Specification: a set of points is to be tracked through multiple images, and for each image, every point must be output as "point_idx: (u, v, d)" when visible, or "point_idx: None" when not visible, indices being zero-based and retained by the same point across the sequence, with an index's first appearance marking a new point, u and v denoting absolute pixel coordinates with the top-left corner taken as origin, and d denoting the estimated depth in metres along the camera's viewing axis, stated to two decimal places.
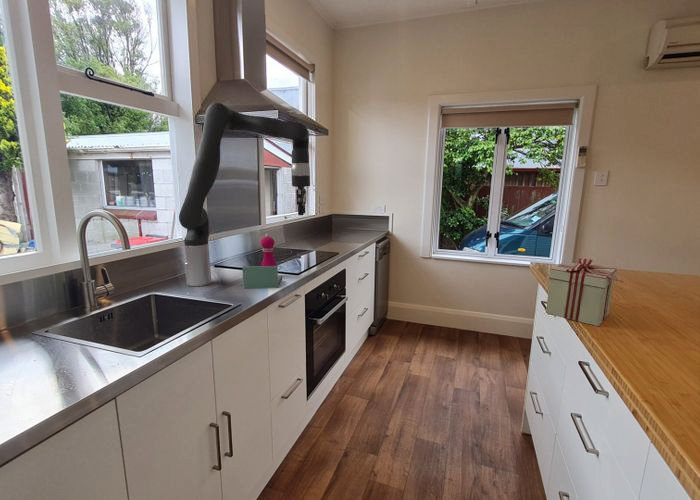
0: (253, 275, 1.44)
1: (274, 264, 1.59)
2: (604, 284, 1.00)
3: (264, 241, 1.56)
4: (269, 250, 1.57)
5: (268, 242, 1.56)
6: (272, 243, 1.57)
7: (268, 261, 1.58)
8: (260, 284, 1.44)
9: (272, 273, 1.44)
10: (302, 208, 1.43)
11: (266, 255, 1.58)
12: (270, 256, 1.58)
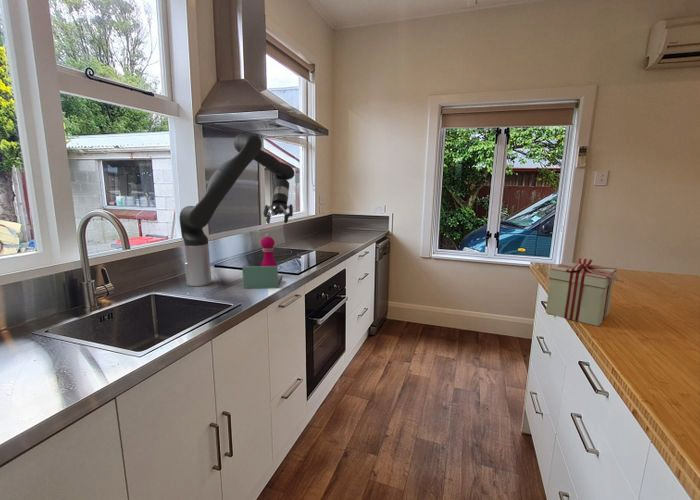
0: (253, 275, 1.44)
1: (274, 264, 1.59)
2: (604, 284, 1.00)
3: (264, 241, 1.56)
4: (269, 250, 1.57)
5: (268, 242, 1.56)
6: (272, 243, 1.57)
7: (268, 261, 1.58)
8: (260, 284, 1.44)
9: (272, 273, 1.44)
10: None
11: (266, 255, 1.58)
12: (270, 256, 1.58)
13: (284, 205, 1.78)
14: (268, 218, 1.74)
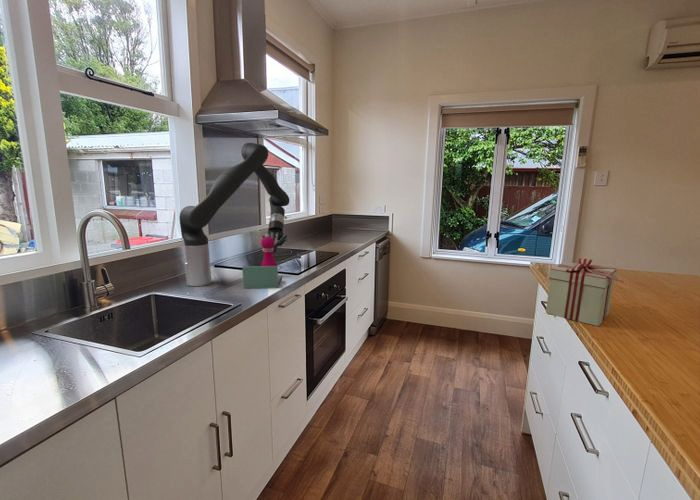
0: (253, 275, 1.44)
1: (274, 264, 1.59)
2: (604, 284, 1.00)
3: (264, 241, 1.56)
4: (269, 250, 1.57)
5: (268, 242, 1.56)
6: (272, 243, 1.57)
7: (268, 261, 1.58)
8: (260, 284, 1.44)
9: (272, 273, 1.44)
10: None
11: (266, 255, 1.58)
12: (270, 256, 1.58)
13: (281, 232, 1.77)
14: None
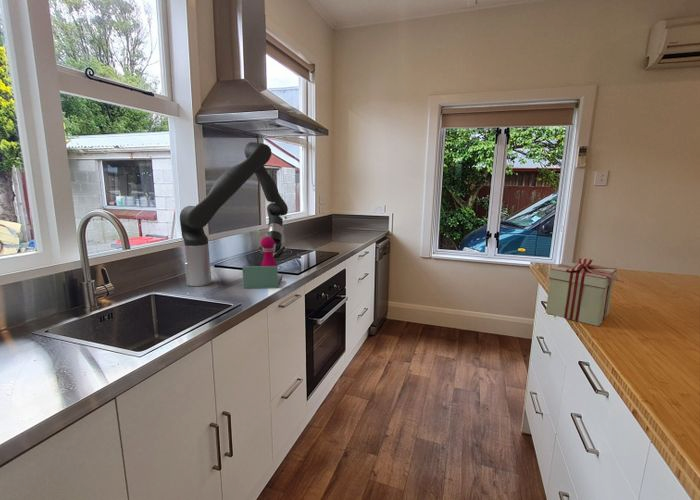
0: (253, 275, 1.44)
1: (274, 264, 1.59)
2: (604, 284, 1.00)
3: (264, 241, 1.56)
4: (269, 250, 1.57)
5: (268, 242, 1.56)
6: (272, 243, 1.57)
7: (268, 261, 1.58)
8: (260, 284, 1.44)
9: (272, 273, 1.44)
10: None
11: (266, 255, 1.58)
12: (270, 256, 1.58)
13: (279, 244, 1.70)
14: None
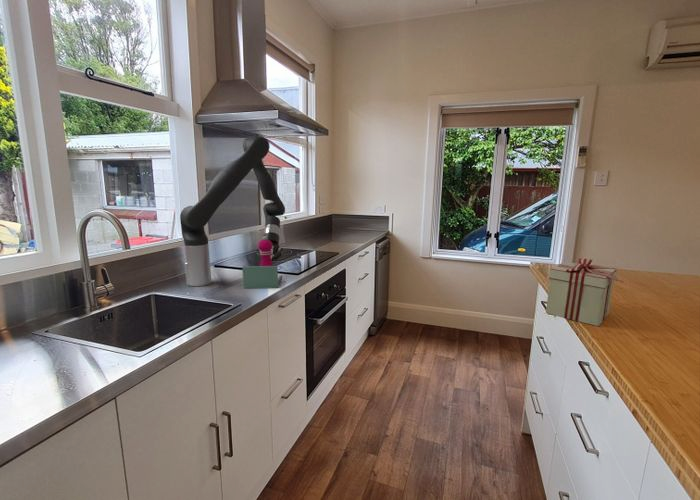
0: (253, 275, 1.44)
1: None
2: (604, 284, 1.00)
3: (262, 244, 1.49)
4: (267, 253, 1.50)
5: (266, 245, 1.49)
6: (270, 246, 1.51)
7: (265, 264, 1.51)
8: (260, 284, 1.44)
9: (272, 273, 1.44)
10: None
11: (264, 258, 1.51)
12: (268, 259, 1.52)
13: (276, 245, 1.63)
14: None
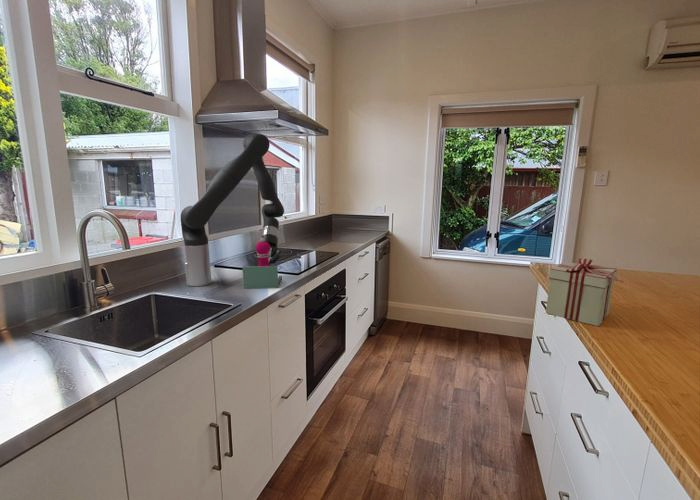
0: (253, 275, 1.44)
1: None
2: (604, 284, 1.00)
3: (259, 246, 1.44)
4: (264, 256, 1.46)
5: (263, 247, 1.44)
6: (268, 248, 1.46)
7: None
8: (260, 284, 1.44)
9: (272, 273, 1.44)
10: None
11: (262, 261, 1.46)
12: (266, 262, 1.47)
13: (275, 248, 1.58)
14: None
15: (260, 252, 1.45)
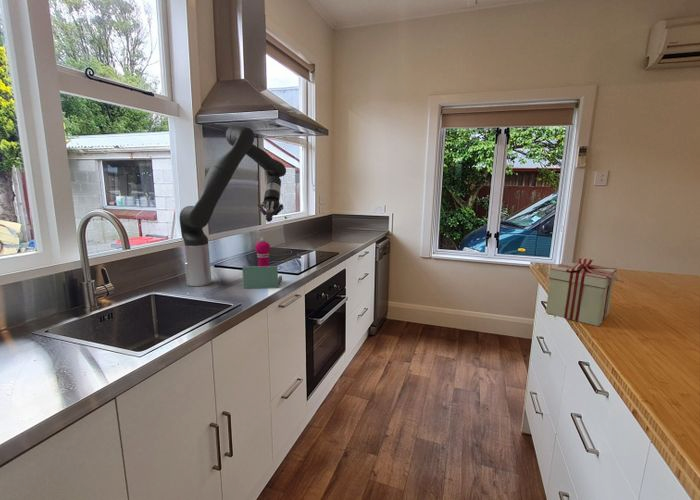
0: (253, 275, 1.44)
1: None
2: (604, 284, 1.00)
3: (259, 246, 1.44)
4: (264, 256, 1.45)
5: (263, 247, 1.44)
6: (268, 248, 1.46)
7: None
8: (260, 284, 1.44)
9: (272, 273, 1.44)
10: None
11: (261, 261, 1.46)
12: (265, 262, 1.47)
13: (277, 201, 1.74)
14: (268, 216, 1.69)
15: (260, 252, 1.45)
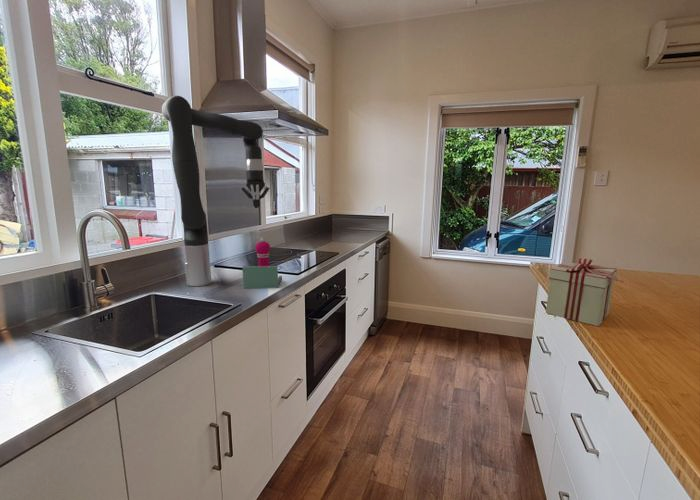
0: (253, 275, 1.44)
1: None
2: (604, 284, 1.00)
3: (259, 246, 1.44)
4: (264, 256, 1.45)
5: (263, 247, 1.44)
6: (268, 248, 1.46)
7: None
8: (260, 284, 1.44)
9: (272, 273, 1.44)
10: None
11: (261, 261, 1.46)
12: (265, 262, 1.47)
13: (261, 183, 1.62)
14: (255, 203, 1.63)
15: (260, 252, 1.45)
